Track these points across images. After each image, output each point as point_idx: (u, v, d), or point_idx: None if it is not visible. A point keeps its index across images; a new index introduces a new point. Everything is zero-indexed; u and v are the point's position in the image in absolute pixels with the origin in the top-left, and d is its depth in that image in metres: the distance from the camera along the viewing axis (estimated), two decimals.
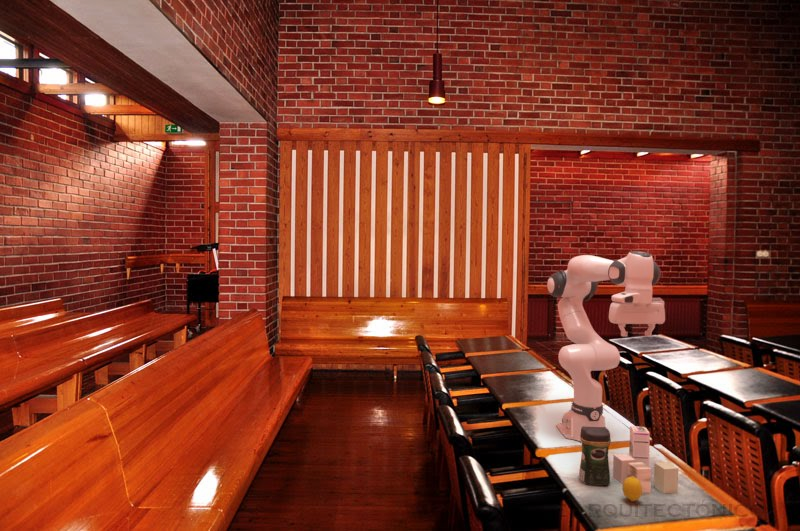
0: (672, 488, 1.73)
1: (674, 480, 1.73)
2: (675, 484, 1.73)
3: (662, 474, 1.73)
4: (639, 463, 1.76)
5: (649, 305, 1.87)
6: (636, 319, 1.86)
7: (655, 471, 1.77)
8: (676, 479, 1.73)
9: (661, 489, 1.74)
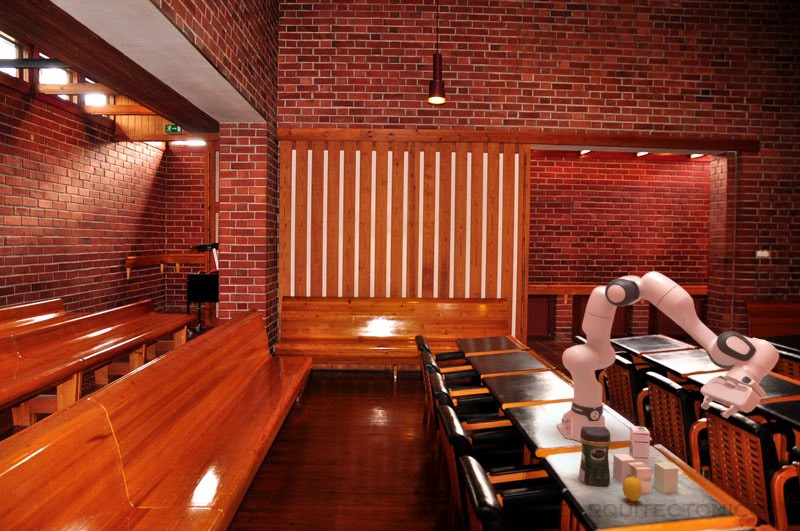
0: (672, 488, 1.73)
1: (674, 480, 1.73)
2: (675, 484, 1.73)
3: (662, 474, 1.73)
4: (639, 463, 1.76)
5: None
6: None
7: (655, 471, 1.77)
8: (676, 479, 1.73)
9: (661, 489, 1.74)
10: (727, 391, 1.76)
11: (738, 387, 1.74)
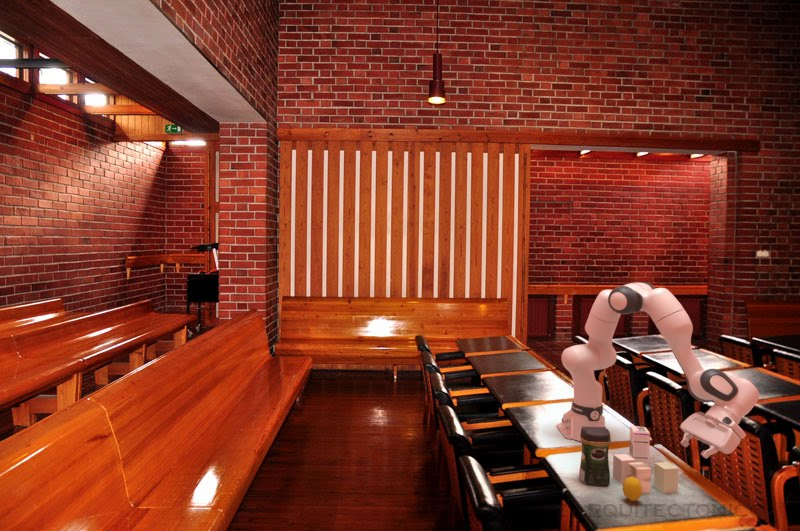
0: (672, 488, 1.73)
1: (674, 480, 1.73)
2: (675, 484, 1.73)
3: (662, 474, 1.73)
4: (639, 463, 1.76)
5: None
6: None
7: (655, 471, 1.77)
8: (676, 479, 1.73)
9: (661, 489, 1.74)
10: (707, 430, 1.76)
11: (718, 427, 1.73)
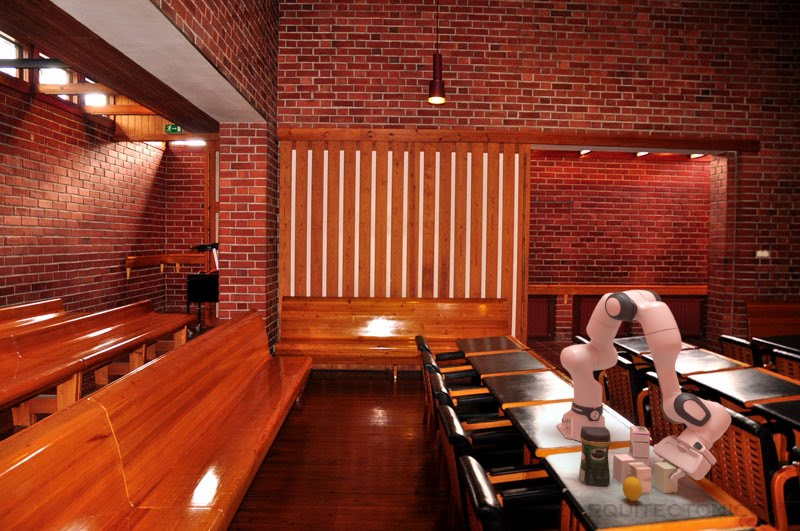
0: (672, 488, 1.73)
1: None
2: (675, 484, 1.73)
3: (662, 474, 1.73)
4: (639, 463, 1.76)
5: None
6: None
7: (655, 471, 1.77)
8: None
9: (661, 489, 1.74)
10: (679, 455, 1.75)
11: (689, 452, 1.72)
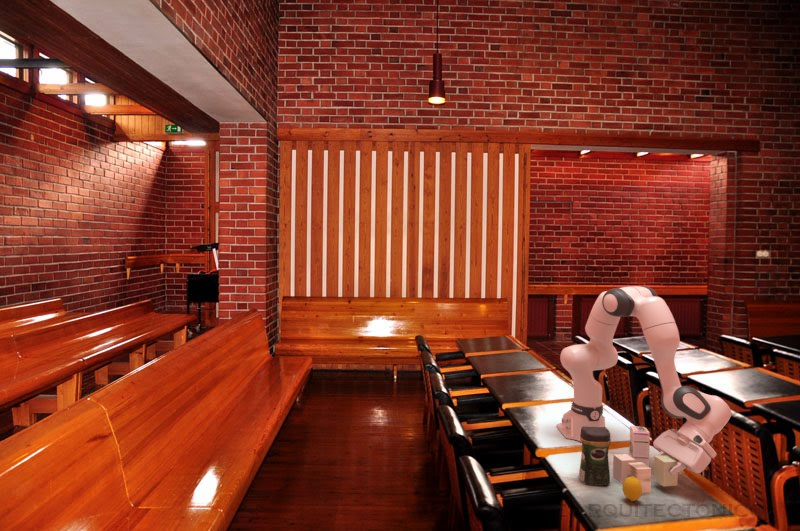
0: (672, 481, 1.73)
1: None
2: (675, 477, 1.73)
3: (662, 467, 1.73)
4: (639, 463, 1.76)
5: None
6: None
7: (655, 464, 1.77)
8: None
9: (661, 482, 1.74)
10: (679, 448, 1.75)
11: (689, 445, 1.72)
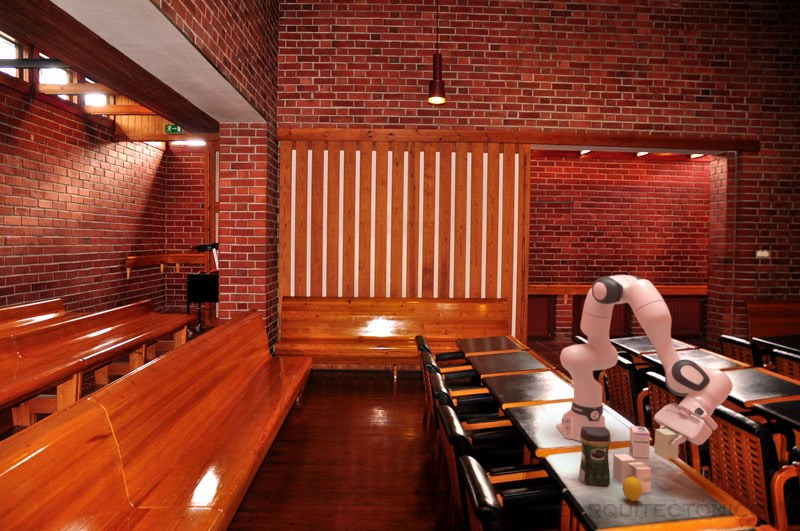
0: (673, 454, 1.73)
1: None
2: (676, 450, 1.73)
3: (663, 440, 1.73)
4: (639, 463, 1.76)
5: None
6: None
7: (656, 437, 1.76)
8: (677, 445, 1.73)
9: (662, 455, 1.73)
10: (680, 421, 1.74)
11: (691, 418, 1.72)
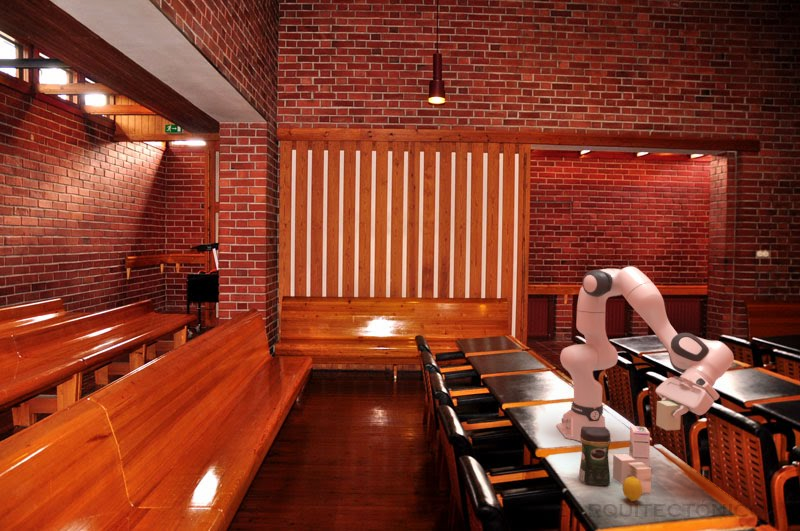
0: (675, 425, 1.72)
1: None
2: (678, 421, 1.72)
3: (665, 411, 1.72)
4: (639, 463, 1.76)
5: None
6: None
7: (657, 409, 1.76)
8: (679, 416, 1.72)
9: (664, 426, 1.73)
10: (681, 392, 1.74)
11: (692, 389, 1.71)
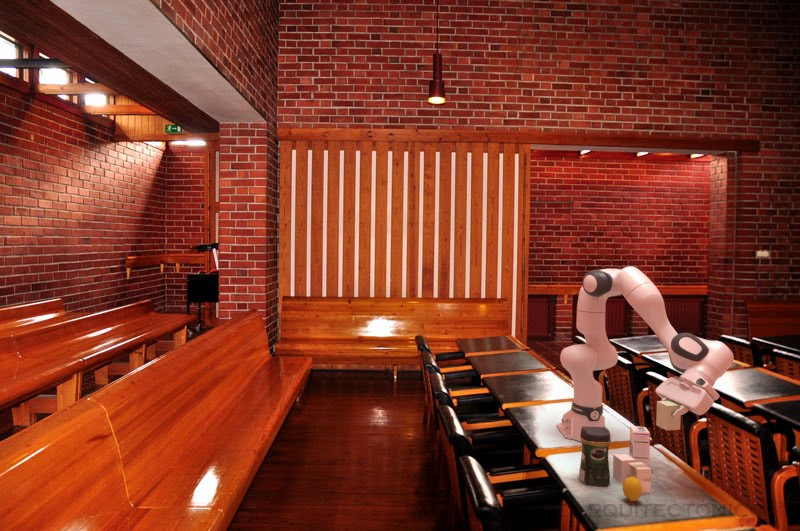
0: (675, 425, 1.72)
1: None
2: (678, 421, 1.72)
3: (665, 411, 1.72)
4: (639, 463, 1.76)
5: None
6: None
7: (657, 409, 1.76)
8: (679, 416, 1.72)
9: (664, 426, 1.73)
10: (681, 392, 1.74)
11: (692, 389, 1.71)
